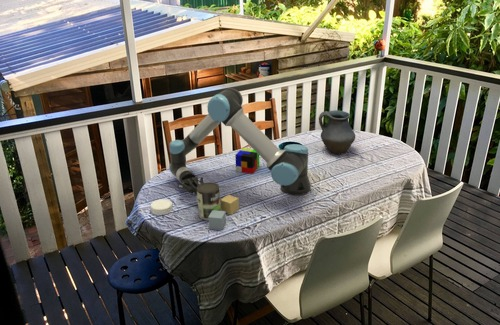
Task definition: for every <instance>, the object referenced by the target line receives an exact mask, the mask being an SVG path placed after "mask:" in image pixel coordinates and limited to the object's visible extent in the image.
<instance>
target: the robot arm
mask: <svg viewBox="0 0 500 325" xmlns="http://www.w3.org/2000/svg"><path fill="white" fill-rule="evenodd" d="M243 102H244V98H243V96H242V93H241V92H240V91H239V90H237V89H235V88H225V89H223V90H222V91H220V92H218V93H216V94H214V95H213V96H212V97H211V98H210V99H209V101H208V102H207V105H206V106H207V108H206V109H207V113H208V114H207V115H206V116H204V118H203V119H202V120H201V121H200V122H199V123H198V124H197V125H196V126H195V127H194V128H193V129H192V130H191V132H189V134H187V136H185V137H184V139H175V140H172V141H170V142H169V144H168V145H169V146H168V147H169V150H168V151H169V155H170V156H169V157H170V164H169V170H170V173H171V174H172V175H173V176H174V177H175V178H176V179H177V180H178V181H179V183H178V186H179V189H182V190H183V191H185V192H187V193H189V194H191V195H195V196H197V186H198V185H200V184H202V183H205V182H204V177H200V178H199V177H197V176H196V175H195V174H194V173H193V172H192V171H191V170H190V169H189V168H188V167H187V162H186V156H187V155H188V154H189V153H191V152H192V151H193V150H195V149H197V148H198V147H199V145H200V144H201V143H202V142H203V141H204V140H205V138H207V137H208V136H209V135H210V134H211V132H213V131H214V130H215V129H216V128H217V127H218V126H219V125H220V124H221V123H222V124H223V125H224V126H225V127H230V128H232V130H233V131H234V132H236V134H238V136H240V137H241V139H243V141H244V142H245V143H247V144H248V146H250V148H251V149H253V150H255V151H256V152H257V153H258V154H259V157H260V158H262V160H263V161H265V162H266V168H267V169H268V170H269V171H270V175H271V176H270V177H271V178H272V180H273V181H274V182H275V183H276V184H277V185H280V190H281V191H282V192H283V194H287V195H291V196H302V195H305V194H308V193H309V192H310V191H311V186H312V185H311V181H310V178H309V176H308V173H309V172H308V170H309V169H308V168H309V166H308V164H309V149H308V147H307V146H305V145H303V144H297V143H296V144H294V143H293V144H291V143H290V144H287V145H285V146H284V148H283V149H280V148H279V147H278V146H277V145H276V144H275V143H274V142H273V141H272V140H271V139H270V138H269V137H268V136H267V135H266V134H265V133H264V132H263V131H262V130H261V129H260V128H259V127H258V126H257V125H256V124H255V123H254V122H253V121H252V120H251V119H250V118H249V117H248V116H247V115H246V114H245V113H244V107H243V106H242V105H243Z"/></svg>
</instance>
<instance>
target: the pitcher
mask: <svg viewBox="0 0 500 325" xmlns="http://www.w3.org/2000/svg"><path fill="white" fill-rule="evenodd" d="M324 117H327V123H326V125H325V124H324V123H323V118H324ZM350 117H351V114H350V113H349V112H347V111H343V110H336V109H335V110H334V109H333V110H329V111H327V110H325V111H322V112H321V113H320V114H319V116H318V124H319V127H320V128H321V133H320V139H321V141H322V142H323V145H324V147H325V148H326V150H327V151H328V153H330V154H331V155H344V154H345V153H347V152H348V150H350V147H351V146H352V144H353V143H354V141H355V140H356V134H355V131H354V130H353V128H352V126H351V124H350V122H349V119H350Z"/></svg>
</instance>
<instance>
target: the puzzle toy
mask: <svg viewBox="0 0 500 325" xmlns="http://www.w3.org/2000/svg"><path fill="white" fill-rule="evenodd" d="M234 155H235V156H234V157H235V172H239V173H245V174H250V175H251V174H252V175H254V173H255V172H256V171H257V170H258V168H260V155H259V154H258V153H257V152H256V151H255V150H254V149H253V148H245V147H242V148H241V149H240V150H239V151H237V153H236V154H234Z"/></svg>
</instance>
